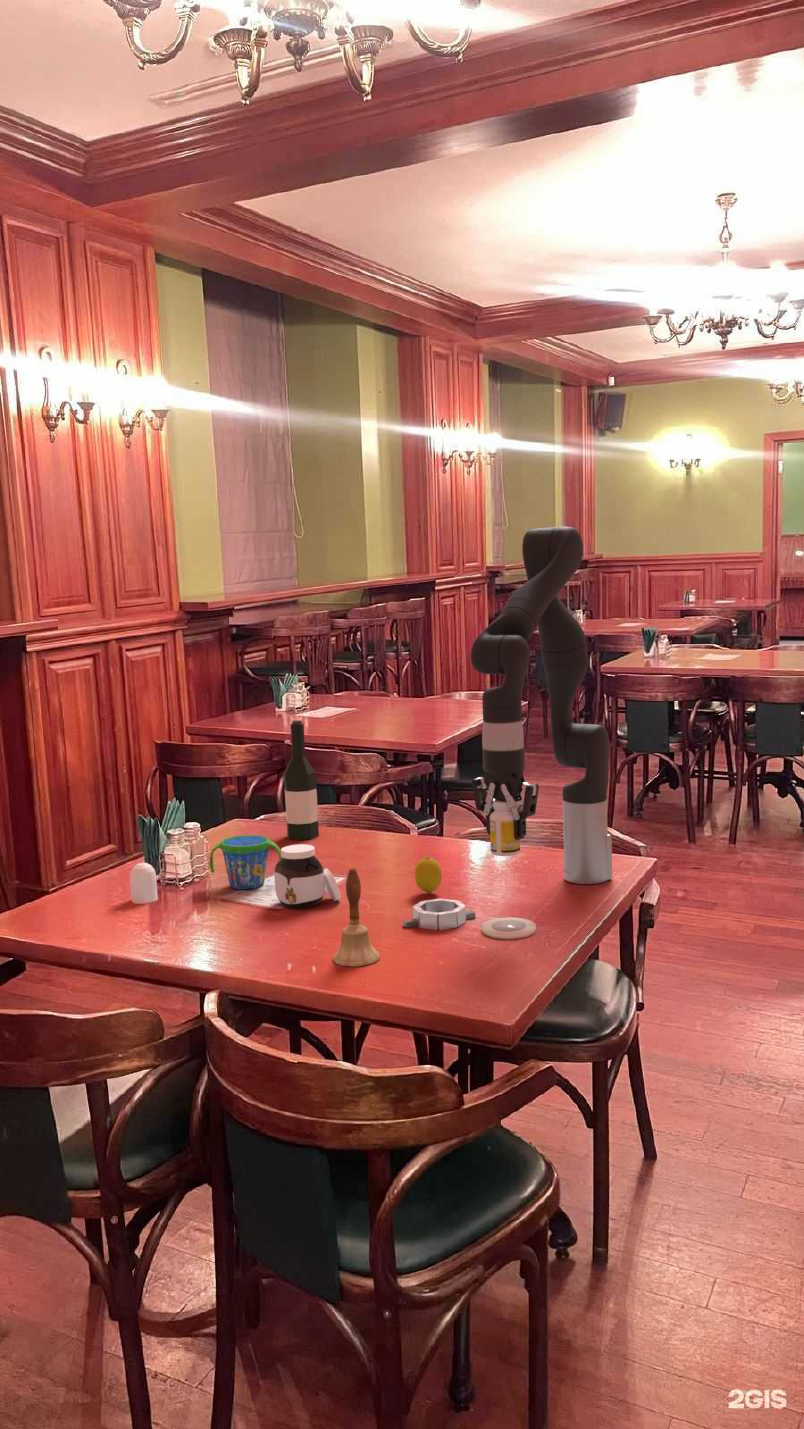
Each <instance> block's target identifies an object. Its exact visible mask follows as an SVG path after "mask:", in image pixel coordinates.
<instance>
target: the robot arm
mask: <svg viewBox="0 0 804 1429" xmlns="http://www.w3.org/2000/svg"><path fill="white" fill-rule="evenodd" d="M580 533H581V532H579V530H578V529H576V528H575V527H572V526H554V527H553V526H551V527H541V528H540V527H538V528H532V529H528V530H527V531H526V532H525V534H524V536H523V538H522V544H521V545H522V546H521V547H522V550H521V551H522V552H521V553H522V560H523V565H524V570H525V573H526V578H527V581H526V582H525V583H523V584H522V585H521V586H519V587H518V588H517V589H516V590H515V591H514V592H513V593H512V594H510V596H509V598H508V599H507V601H506V603H504V604H505V605H504V607H503V608H502V610H501V612H500V614H499V615H498V617H496V618H495V619H494V620H493V621H492V622H491V623H490V624H488V626H486V628H484V629H483V630H482V631H481V633H479V635H477V637H476V638H475V640H474V642H473V643H472V646H471V650H470V656H469V657H470V662H471V665H472V667H473V669H474V670H476V672H478V673H480V674H482V675H483V674H484V675H505V678H504V681H503V682H502V685H499V686H495V687H491V688H488V689H486V690H484V691H483V694H482V699H481V701H482V702H481V703H482V732H481V738H482V740H481V741H482V744H481V745H482V767H483V768H482V770H483V771H484V772H485V774H484V777H483V776H480V777H476V778H473V779H471V787H472V792H473V793H472V794H473V799H474V804H475V809H476V810H477V812H482V813H483V814H484V816H485V829H486V830H485V831H486V832H487V834H488V836H490V815H491V813H493V812H494V811H495V809H493V808H494V807H493V801H494V800H497V801H499V800H503V801H505V802H507V804H508V806H509V808H510V809H511V810H512V812H513V815H514V818H515V820H514V838H515V839H516V840H520V841H521V840H523V839H524V838H525V836H527V818H528V817H533V816H535V814H536V811H537V804H538V796H539V790H540V786H539V784H538V783H533V784H532V783H530V782H526V779H525V777H524V771H525V768H526V766H525V765H526V764H525V737H524V736H525V734H524V726H523V713H522V712H523V710H522V708H523V707H522V697H523V692H524V686H525V681H526V676H527V674H528V669H529V665H530V661H531V649H530V646H529V644H528V641H529V640H530V639H531V638H532V636H533V634H534V633H535V631H536V629H537V630H538V637H539V645H540V651H541V660H542V665H543V669H544V674H545V680H546V686H547V687H546V688H547V694H548V700H549V712H550V726H551V740H552V741H551V742H552V748H553V749H552V750H553V755H554V757H555V759H556V762H557V763H558V764H559V765H561V766H563V767H569V768H579V769H580V768H582V769H585V773H584V777H583V778H582V779H580V780H577V781H573V782H571V783H567V784H565V785H564V786H563V788H562V820H563V821H562V823H563V824H562V825H563V827H562V828H563V831H562V832H563V872H564V880H566V882H569V883H572V884H579V885H596V884H600V883H604V882H607V881H608V880H613V849H612V848H613V846H612V844H613V843H612V841H613V840H612V838H613V837H612V834H609V833H608V801H607V800H608V799H607V798H608V794H607V793H608V787H609V767H610V766H609V765H610V763H609V761H610V739H609V734H608V731H607V729H606V727H604V726H603V725H601V724H591V723H575V721H574V718H573V703H574V699H575V697H576V694H577V692H578V691H579V688H580V687H581V684H582V683H583V681H584V679H585V676H586V674H587V672H588V669H589V654H588V646H587V640H586V634H585V632H584V629H583V627H582V626H581V624H580V623H579V621H578V620H577V619H576V617H575V616H573V614H572V612H570V611H569V609H568V608H567V607H566V605H565V604H564V603H563V602H562V600H561V599H560V597H559V596H558V594H559V593H560V592H561V590H562V589H563V588H564V587H565V585H566V584H567V583H568V581H570V580H571V578H572V577H573V576H574V574H575V573H576V572H577V571H578V570H579V568H580V565H581V563H582V561H583V555H584V542H583V538H582V535H581V534H580ZM487 790H488V791H487ZM522 791H523V792H522ZM514 800H515V801H514Z"/></svg>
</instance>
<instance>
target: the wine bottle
mask: <svg viewBox="0 0 804 1429" xmlns="http://www.w3.org/2000/svg"><path fill="white" fill-rule="evenodd" d="M290 739H291V758H290V760H289V763H288V764H287V766H286V768H285V769H284V772H283V780H284V783H283V784H284V797H285V799H284V800H285V802H284V803H285V815H286V817H285V818H286V834H287V836H288V837H287V839H288V840H292V841H308V840H307V839H309V840H313V839H312V838H314V837H316V838H318V837H317V836H319V837H320V834H319V833H320V832H319V829H320V828H319V814H318V812H319V810H318V792H317V775H316V771H315V770H314V768H313V766H312V765H311V763H310V761H309V760H308V758H307V757H306V745H305V744H306V742H305V725H304V723H303V721H302V720H300V719H296V720H292V721H291V723H290ZM314 839H315V838H314Z"/></svg>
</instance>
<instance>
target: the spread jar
mask: <svg viewBox="0 0 804 1429" xmlns="http://www.w3.org/2000/svg"><path fill="white" fill-rule="evenodd" d="M280 851H281V856H282V858H281V859H280V860H278V861H277V863H276V865H275V866H274V888H275V895H276V897H277V899H278V901H279V903H280V904H281V905H282V906H284V907H285V908H287V909H294V910H302V909H309V908H312V907H316V906H317V905H318V904H319V903H320V902H322V901H323V898H324V897H325V892H327V894H328V895H329V897H330V898H331V899H332V901H333V902H337V901H338V900H341V899H342V893H341V891H340V888H339V886H338V883H337V881H336V878H334V874H332V871H330V870H329V869H328V868H327V867H326V868H324V866H323V865H322V863H321V861H320V860H319V858H317V857H316V850H315V846H313V845H311V844H303V843H302V844H290V845H287V846H283V847H282V848H280Z"/></svg>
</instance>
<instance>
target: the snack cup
mask: <svg viewBox="0 0 804 1429" xmlns="http://www.w3.org/2000/svg"><path fill="white" fill-rule="evenodd" d="M270 847H273V849H274V850H275V851H276V852H277V854H278V856H279V858H278V859H279V860H280V859H281V858H282V856H281V848H280V847H279V845H277V843H276V842H274V841H272V840H271V839H269V837H268V836H263V835H257V834H247V835H246V834H244V835H235V836H230V837H226V838H224V839H222V840H220V842H219V843H218V844H216V845H214V847H213V848H212V849H211V852H210V855H209V859H208V860H209V869H210V871H211V873H214V872H215V866H214V857H213V856H214V852H215V851H217V849H220V850H221V851H222V855H223V859H224V865H225V871H226V874H227V877H228V878H227V879H228V883H229V886H230V887H232V888H233V889H236V890H249V889H256V888H260V887H261V886H263V885H264V884H265V881H266V879H265V878H266V872H267V871H266V870H267V860H268V855H269V849H270ZM279 860H278V861H279Z"/></svg>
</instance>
